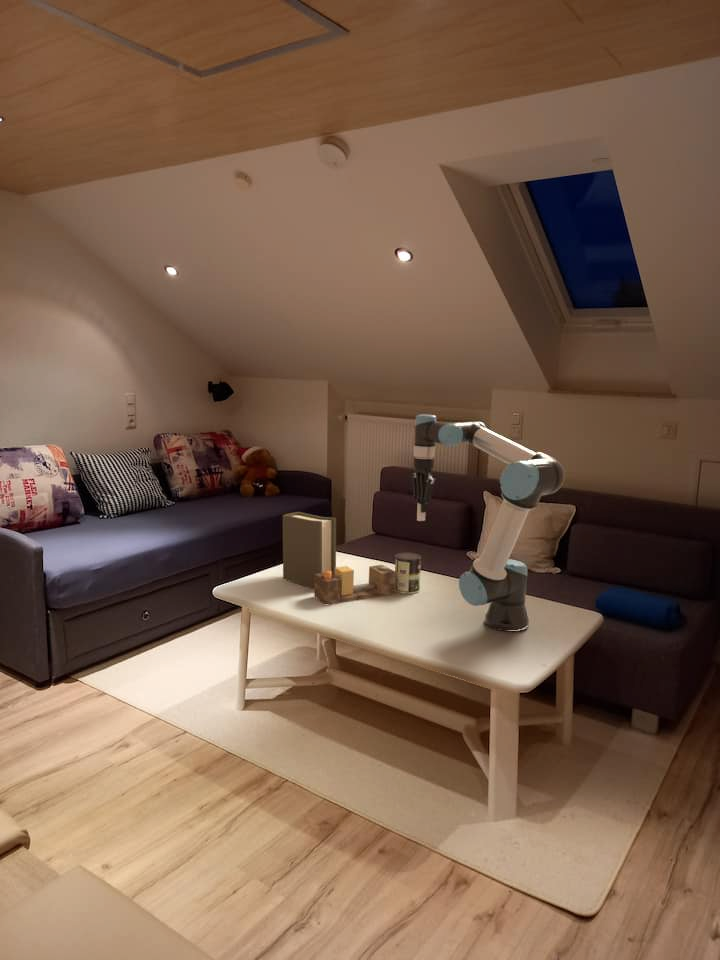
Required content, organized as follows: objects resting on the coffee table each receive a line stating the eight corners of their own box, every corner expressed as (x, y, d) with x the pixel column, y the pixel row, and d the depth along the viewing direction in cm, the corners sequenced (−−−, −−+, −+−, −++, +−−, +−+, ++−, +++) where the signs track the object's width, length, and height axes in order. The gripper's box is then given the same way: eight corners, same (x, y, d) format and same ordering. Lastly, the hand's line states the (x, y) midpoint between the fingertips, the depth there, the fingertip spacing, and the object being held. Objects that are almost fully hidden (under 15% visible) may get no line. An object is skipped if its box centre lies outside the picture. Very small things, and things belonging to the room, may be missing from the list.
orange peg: (332, 587, 268) (333, 572, 267) (325, 588, 267) (325, 573, 266) (329, 585, 271) (329, 570, 270) (322, 586, 269) (322, 571, 268)
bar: (372, 587, 280) (372, 582, 280) (375, 589, 278) (375, 584, 278) (333, 593, 272) (334, 588, 272) (336, 595, 270) (336, 590, 270)
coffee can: (418, 586, 288) (420, 552, 286) (420, 594, 278) (422, 560, 276) (393, 585, 289) (394, 551, 286) (394, 593, 278) (395, 559, 276)
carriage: (345, 589, 277) (346, 565, 275) (353, 594, 271) (353, 570, 270) (334, 590, 274) (334, 567, 272) (341, 595, 269) (342, 572, 267)
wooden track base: (381, 586, 287) (382, 563, 285) (394, 593, 278) (395, 570, 277) (314, 596, 273) (314, 572, 271) (325, 604, 264) (326, 580, 262)
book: (281, 580, 292) (281, 513, 288) (298, 575, 299) (297, 510, 295) (319, 591, 278) (319, 521, 274) (335, 586, 285) (336, 517, 281)
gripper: (442, 459, 254) (439, 523, 259) (422, 454, 265) (419, 515, 270) (425, 460, 251) (422, 525, 255) (405, 455, 262) (402, 517, 266)
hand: (421, 520), depth 262 cm, fingers closed
